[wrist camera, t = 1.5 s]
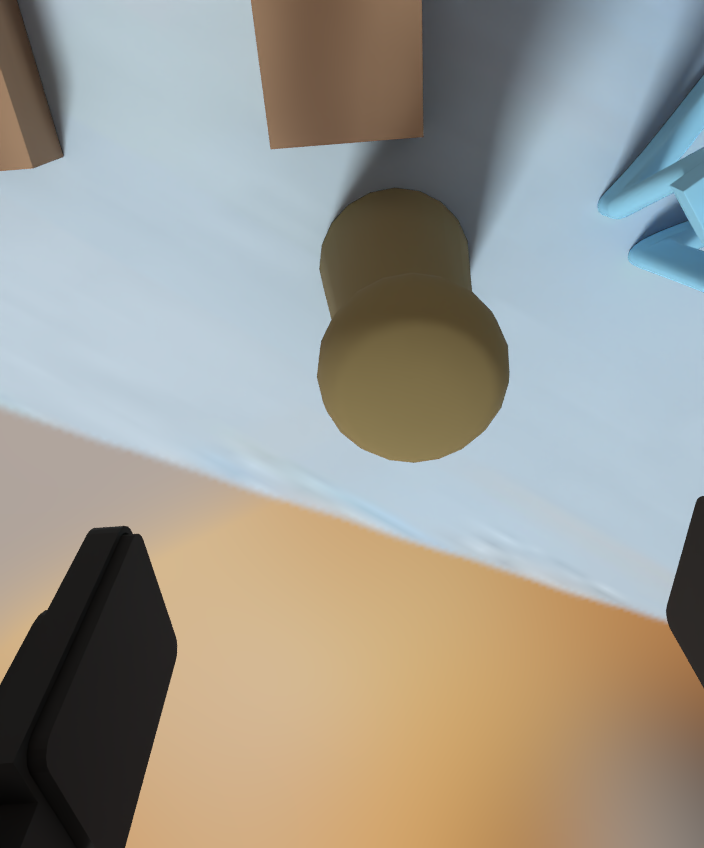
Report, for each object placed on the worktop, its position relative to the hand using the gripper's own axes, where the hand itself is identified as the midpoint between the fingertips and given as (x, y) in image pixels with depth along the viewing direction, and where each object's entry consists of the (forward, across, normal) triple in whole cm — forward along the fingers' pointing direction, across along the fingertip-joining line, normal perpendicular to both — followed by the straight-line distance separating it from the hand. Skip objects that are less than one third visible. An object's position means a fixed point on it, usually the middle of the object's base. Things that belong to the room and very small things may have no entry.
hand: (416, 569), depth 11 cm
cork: (+17, -1, 0) cm, 17 cm away
